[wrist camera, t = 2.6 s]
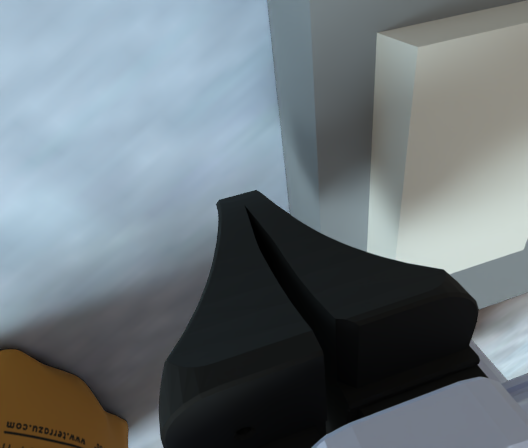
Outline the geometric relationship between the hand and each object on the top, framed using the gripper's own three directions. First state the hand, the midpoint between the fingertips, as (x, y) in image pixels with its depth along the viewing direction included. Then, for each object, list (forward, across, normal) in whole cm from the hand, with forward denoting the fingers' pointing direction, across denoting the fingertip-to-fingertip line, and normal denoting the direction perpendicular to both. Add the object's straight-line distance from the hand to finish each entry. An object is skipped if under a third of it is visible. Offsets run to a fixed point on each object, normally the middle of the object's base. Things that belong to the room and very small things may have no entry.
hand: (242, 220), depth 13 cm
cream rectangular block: (+1, -8, 0) cm, 8 cm away
